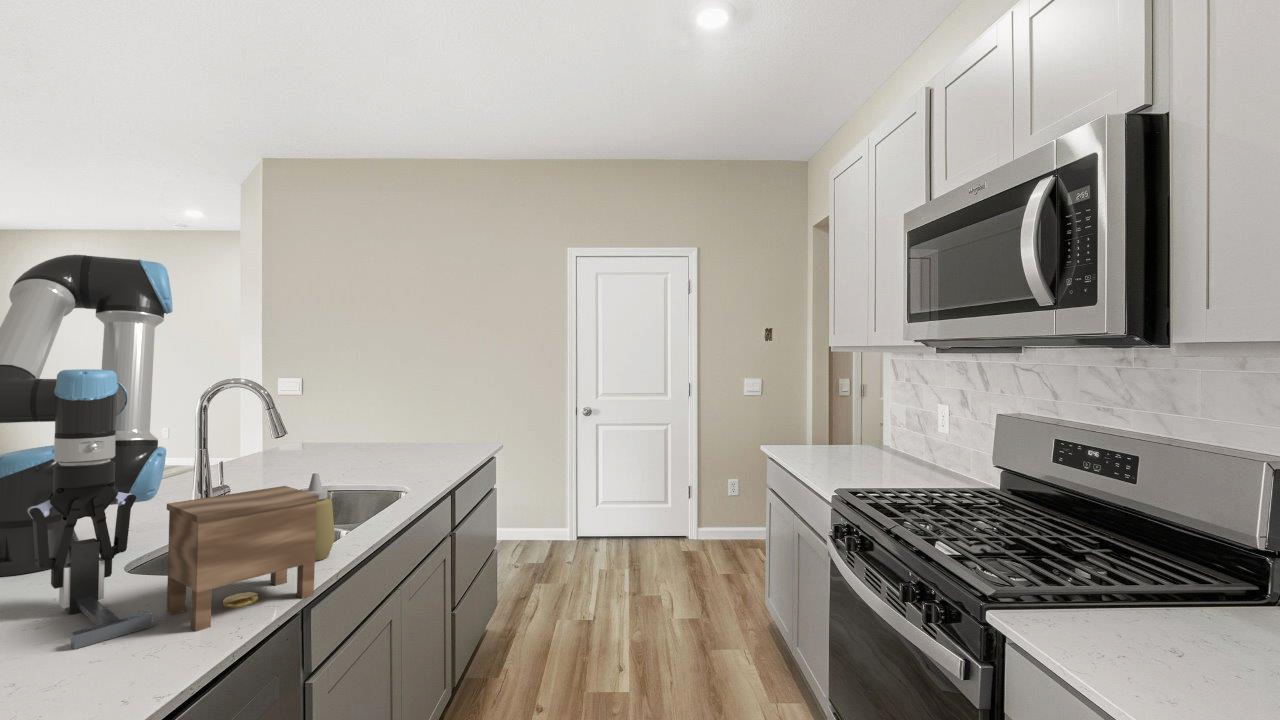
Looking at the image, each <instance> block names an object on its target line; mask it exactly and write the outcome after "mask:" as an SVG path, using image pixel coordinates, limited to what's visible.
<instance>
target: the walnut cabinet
mask: <svg viewBox="0 0 1280 720" xmlns="http://www.w3.org/2000/svg"><path fill="white" fill-rule="evenodd" d="M316 501H319V495H316V494H312V493H309V492H305V490H302V489H298V488H294V487H290V486H287V485H282V486H275V487H268V488H263V489H255V490H248V491H243V492H235V493H229V494H222V495H215V496H210V497H209V496H208V497H203V498H196V499H195V498H194V499H190V500H183V501H177V502H176V501H175V502H168V503H166V511H169V516H168V517H169V518H168V519H169V520H168V546H167V547H168V551H167V552H168V553H167V559H168V560H167V587H166V588H167V590H166V591H167V592H166V594H167V596H166V613H168V614H170V615H175V614H179V613H182V612H185V611H187V588H188V589H189V590H191V593H190V595H191V596H190V598H191V599H190V629H191V630H193V631H194V632H198V631H201V630H205V629H208V628H210V627H212V625H211V623H212V621H211V620H212V619H211V618H212V590H213V589H216V588H219V587H223V586H228V585H231V584H235V583H239V582H242V581H246V580H250V579H254V578H258V577H262V576H265V575H269V574H270V584H271V585H274V586H279V585H283V584H286V583H288V569H292V568H296V567H297V572H296V573H297V574H296V575H297V577H296V596H297V597H298V598H300V599H305V598H309V597H311V596H314V595H315V567H316V565H315V563H316V561H315V530H316Z"/></svg>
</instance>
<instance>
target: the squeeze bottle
mask: <svg viewBox="0 0 1280 720" xmlns="http://www.w3.org/2000/svg"><path fill="white" fill-rule="evenodd" d="M320 477H321V476H320V473H319V472H317V473H312V475H311V479H310V483H309V486H308V489H305V490H304V491H305V492H309V493H312V494H316V495H319V501H316V530H315V562H316V561H321V560H324V559H326V558H328V557H329V556H330V552H331V550H332V547H333V545H334V542H335V540H336V534H335V523H334V511H333V508H334V507H333V501H332V500H331V499H329V498H328V489H326V488H323V487H322V482H321V478H320Z"/></svg>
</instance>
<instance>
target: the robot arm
mask: <svg viewBox="0 0 1280 720" xmlns="http://www.w3.org/2000/svg"><path fill="white" fill-rule="evenodd" d="M171 289H172V288H171V284H170V278H169V274H168V270H167V267H166V266H165V265H164V264H162V263H161V262H156V261H151V260H150V261H148V260H143V259H141V258H140V259H133V258H132V259H129V258H118V257H109V256H108V257H107V256H96V255H86V254H85V255H84V254H65V255H61V256H57V257H53V258H50V259H47V260H45V261H42V262H40V263H38V264H36V265H34V266H33V267H31V268H30V269H28V270H27V271H25V272H23V273H22V274H21V275H20V276H19V277H18V278H17V279H16V280H15V282H14V283H13V285H12V287H11V288H10V290H9V294H8V295H9V297H8V298H9V300H10V303H11V305H10V307H9V309H8V310H7V313H6V315H5V317H4V319H3V321H2V323H1V325H0V424H9V423H10V424H11V423H13V424H14V423H35V422H36V423H39V422H40V423H42V422H43V423H44V422H46V423H47V422H48V423H49V422H54V442H53V443H54V444H53V445H46V446H39V447H32V448H25V449H20V450H19V449H18V450H14V451H9V452H5V453H2V454H0V577H5V576H6V577H9V576H16V575H17V576H18V575H23V574H29V573H34V572H35V573H36V572H41V571H45V570H50V573H51V574H50V585H51V587H52V588H53V589H54V590H56V589H58V590H59V591H58V606H60V607H61V609H64V610H65V608H68V607H70V571H71V567H69V566H68V565H67V564H66V558H67V554H68V550H69V546H70V542H75V541H80V539H79V537H78V535H77V533H76V530H75V527H76V525H77V522H78V520H81V519H83V518H90V519H91V520H92V526H93V530H94V535H95V539H97V540H98V541H100V551H99V588H98V601H99V600H100V601H101V600H103V599H104V598H105V597H104V596H105V595H104V594H105V578H110V577H112V573H113V559H114V558H115V557H116V555H118V554H120V553H121V554H122V553H124V552H126V551H127V548H128V542H129V541H128V540H129V539H128V538H129V529H130V520H131V512H132V507H133V505H134V504H135V503H141V502H148V501H151V500H152V499H154V498H155V497H156V496H157V494H158V492H159V489H160V486H161V483H162V479H163V475H164V470H165V465H166V457H167V449H166V447H164V446H159V438H157V437H156V436H155V435H153V434H152V433H151V414H152V412H151V411H152V396H153V395H152V393H153V372H154V371H153V370H154V356H155V355H154V354H155V353H154V351H155V334H156V333H155V331H156V329H155V328H156V327H157V326H159V325H160V324H162V323H163V322H164V321H165V315H168V314H171V313H173V300H172V299H173V297H172V290H171ZM74 309H85V310H95V318H96V319H98V320H99V321H100V322H102V323H103V325H104V326H103V339H102V340H103V342H102V356H101V369H93V368H92V369H86V368H85V369H63V370H60V371H59V372H58V373H57V374H56V378H40V377H41V375H42V372H43V370H44V369H45V368H44V367H45V365H46V362H47V359H48V357H49V355H50V352H51V350H52V347H53V345H54V341H55V339H56V337H57V334H58V332H59V329H60V327H61V324H62V323H63V322H62V321H63V319H64V317H66V316H68V315H69V314H71V313H72V312H73V310H74ZM111 505H112V506H113V505H117V508H116V509H117V511H116V519H115V529H114V537H113V545H112V542H111V537H110V534H109V527H108V524H107V515H106V509H108V507H109V506H111Z"/></svg>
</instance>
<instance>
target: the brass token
mask: <svg viewBox="0 0 1280 720" xmlns="http://www.w3.org/2000/svg"><path fill="white" fill-rule="evenodd" d="M258 598H259V594H258V593H256V592H249V591H247V592H240V593H235V594H231V595H229V596H226V597H225V598H224V599H223V601H222V606H223V607H224V608H228V609H233V608H235V609H236V608H243V607H247V606H250V605H252V604H254V603H256V602H257V601H258V600H259V599H258Z"/></svg>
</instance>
